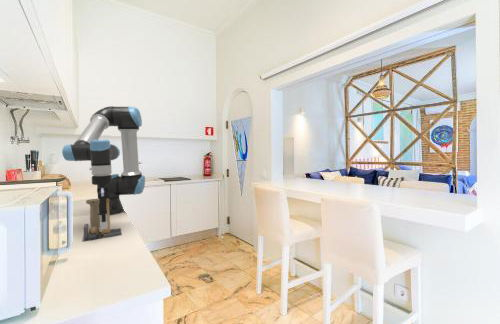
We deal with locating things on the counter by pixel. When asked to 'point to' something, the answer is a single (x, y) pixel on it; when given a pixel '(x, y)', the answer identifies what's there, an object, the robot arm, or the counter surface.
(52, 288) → the counter surface
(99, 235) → the slotted metal plate
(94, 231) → the round brown knob
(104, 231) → the lever
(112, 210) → the robot arm
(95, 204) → the handle
